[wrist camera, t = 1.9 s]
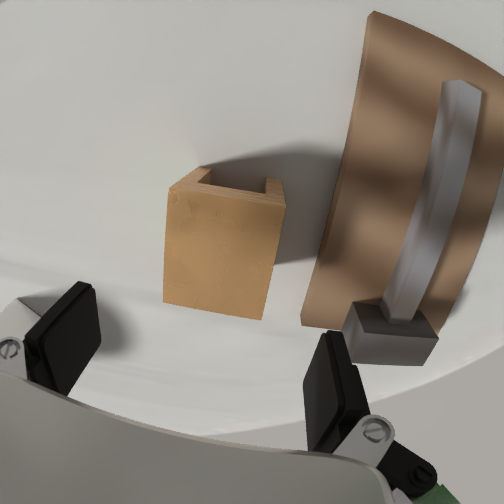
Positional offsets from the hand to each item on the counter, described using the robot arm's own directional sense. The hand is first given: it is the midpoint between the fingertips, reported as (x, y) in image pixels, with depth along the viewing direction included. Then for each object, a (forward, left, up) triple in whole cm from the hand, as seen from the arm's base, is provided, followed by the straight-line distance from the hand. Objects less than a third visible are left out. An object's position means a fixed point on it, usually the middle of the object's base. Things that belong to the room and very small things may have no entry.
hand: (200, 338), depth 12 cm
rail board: (-6, +14, -13) cm, 20 cm away
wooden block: (-1, 0, -13) cm, 13 cm away
